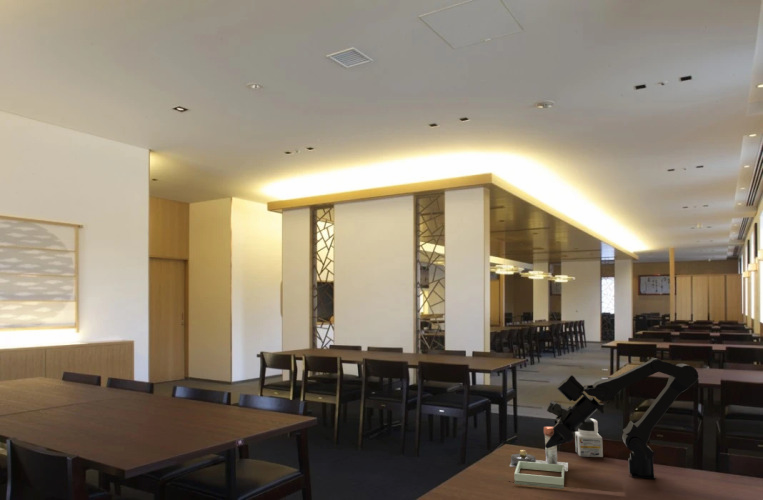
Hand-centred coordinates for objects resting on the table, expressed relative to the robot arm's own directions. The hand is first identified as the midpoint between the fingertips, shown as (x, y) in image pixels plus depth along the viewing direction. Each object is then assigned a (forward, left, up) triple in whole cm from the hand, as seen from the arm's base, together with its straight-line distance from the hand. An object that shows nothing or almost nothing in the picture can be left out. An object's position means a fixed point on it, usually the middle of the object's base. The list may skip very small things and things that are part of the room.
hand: (546, 444), depth 177 cm
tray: (+2, +13, -8) cm, 15 cm away
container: (-13, -19, -8) cm, 25 cm away
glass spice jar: (-1, 0, -7) cm, 7 cm away
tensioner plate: (+3, 0, -8) cm, 8 cm away
